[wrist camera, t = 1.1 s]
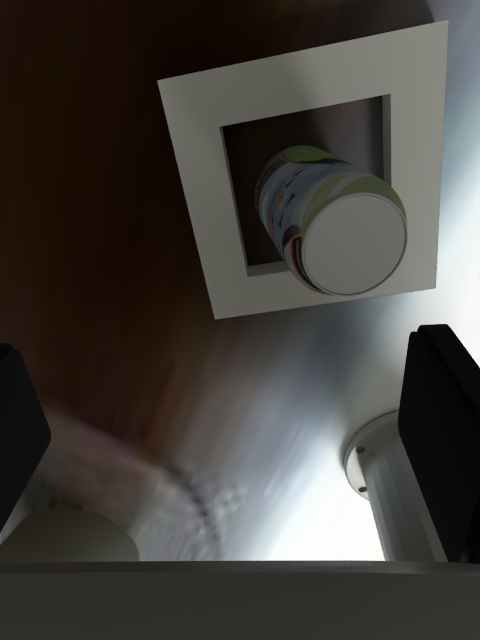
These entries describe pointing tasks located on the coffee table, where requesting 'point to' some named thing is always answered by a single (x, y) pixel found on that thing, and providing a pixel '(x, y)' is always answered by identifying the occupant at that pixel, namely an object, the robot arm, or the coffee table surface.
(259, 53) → the coffee table surface
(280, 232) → the beverage can
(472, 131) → the coffee table surface
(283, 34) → the coffee table surface
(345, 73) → the can holder
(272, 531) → the coffee table surface
